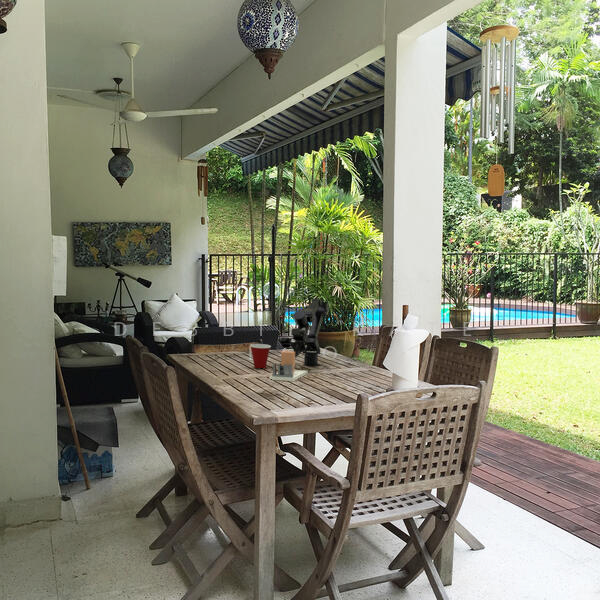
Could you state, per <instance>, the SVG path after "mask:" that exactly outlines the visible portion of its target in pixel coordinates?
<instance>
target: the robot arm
mask: <svg viewBox="0 0 600 600" xmlns="http://www.w3.org/2000/svg"><path fill="white" fill-rule="evenodd" d="M329 311H330V305H329V304H328V302H326V301H323V300H322V299H321V298H313V299H312V300H311V302H310V304H309V305H308V306H307V308H306V309H302V308H299V309H298V310H297V311H295V312H293V315H292V317H293V320H294V322H295V325H296V326H297V327H296V328H295V327H292V328H291V332H290V335H291V336H292V339H290V337H286V336H285V337H284V336H281V337H280V339H279V343H280V345H281V347H282V349H283V348H284V349H290V348H292V351H293V352H295V359H297V358H298V356H299V355H300V354H301V353H302V354H304V359H303V364H302V365H303V366H308V367H314V366H320V364H319V363H318V361H319V359H318V358H319V355H321V346H320V345H319V341H318V336H319V332H320V329H321V326H322V323H323V319H324V318H326V317H327V316H328V314H329ZM310 323H311V325H310Z"/></svg>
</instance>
